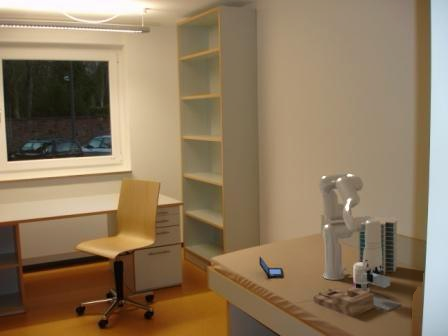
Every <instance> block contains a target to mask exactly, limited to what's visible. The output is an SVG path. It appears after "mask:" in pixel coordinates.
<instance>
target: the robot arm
mask: <svg viewBox="0 0 448 336" xmlns="http://www.w3.org/2000/svg"><path fill="white" fill-rule="evenodd" d="M318 184H319V190H320V192H321V196H322V208H323V216H324V219H325V220H326V221H330V222H329V223H326V224H324V226H323V227H322V236H323V243H324V272H323V273H322V278H323V277H324V278H323V279H324V280H325V279H326V280H329V281H341V280H343V279H345V276H346V275H345V274H344V272H345V271H347V270H348V269H347V267H346V266H345V267H343V265H342V264H343V263H342V262H343V260H342V259H343V257H342V256H343V255H342V245H341V243H340V242H339V241H338V240H342V239H349V238H351V237H352V236H353V235H354V234H355V233H359V232H365V248H364V253H363V267H364V268H363V270H364V271H365V272H366V273H367V281H369V282H373V274H372V271H373V268H374V270H375V271H373V273H375V274H378V275H381V274H379V272H380V268H381V266H382V264H383V262H382V250H381V223H380V221H379V220H375V219H374V218H372V217H373V216H369V215H367V216H363V217H362V216H357V217H353V212H352V209H353V208H354V207H356V206H357V205H358V204H360V202H361V197H360V195H359V193H358V192H359V191H361V190H362V189H363V188H364V182H363V180H362V177H361V176H358V175H356V174H352V173H346V172H345V173H343V172H342V173H331V174H326V175H323V176H321V178H320V179H319V183H318ZM335 190H337V191H338V193H339V195H340V197H341V199H342V201H343V202H339V196H338V193H336V191H335ZM331 221H332V222H331ZM333 221H335V222H333ZM337 221H338V222H337ZM369 269H370V271H369Z"/></svg>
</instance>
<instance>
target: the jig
mask: <svg viewBox="0 0 448 336" xmlns="http://www.w3.org/2000/svg"><path fill="white" fill-rule="evenodd" d="M346 290H347V291H346V292H345V291H343V290H340V289H337V288H333V289H332V288H328V291H326V292H321V291H320V292H318V294H317V295H314V296H313V303H315V304H318V305H320V306H323V307H325V308H328V309H331V310H332V311H336V312H338V313H340V314H344V315H345V316H349V317H351V318H354V317H356V316H358V315H361V314H363V313H365V312H367V310H368V311H370V310H371V309H375V307H374V295H375V294H374V293H372V292H370V291H369V292H366V291H363V290H360V289H357V288H354V287H351V288H348V289H346Z"/></svg>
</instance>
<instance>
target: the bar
mask: <svg viewBox="0 0 448 336" xmlns="http://www.w3.org/2000/svg"><path fill="white" fill-rule="evenodd" d="M372 274H373V282H369V281H367V273H365V274H364V282H366V283H370V284H371V285H374V286H376V287H381V288H383V289H385V288H387V287H390V286H391V278H390V276H385V275H383V274H380V275H378V274H375V273H372Z"/></svg>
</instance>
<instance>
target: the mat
mask: <svg viewBox="0 0 448 336" xmlns="http://www.w3.org/2000/svg"><path fill="white" fill-rule="evenodd" d="M401 305H402V303H400V302H397V301H393V300H391V299H387V298H385V297H381V296H378V295H375V294H374V308H376V309H378V310H381V309H382V311H384V310H385V311H384V312H387V311H388V312H391V311H392V310H394V309H396V308H399V307H400V306H401Z"/></svg>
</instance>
